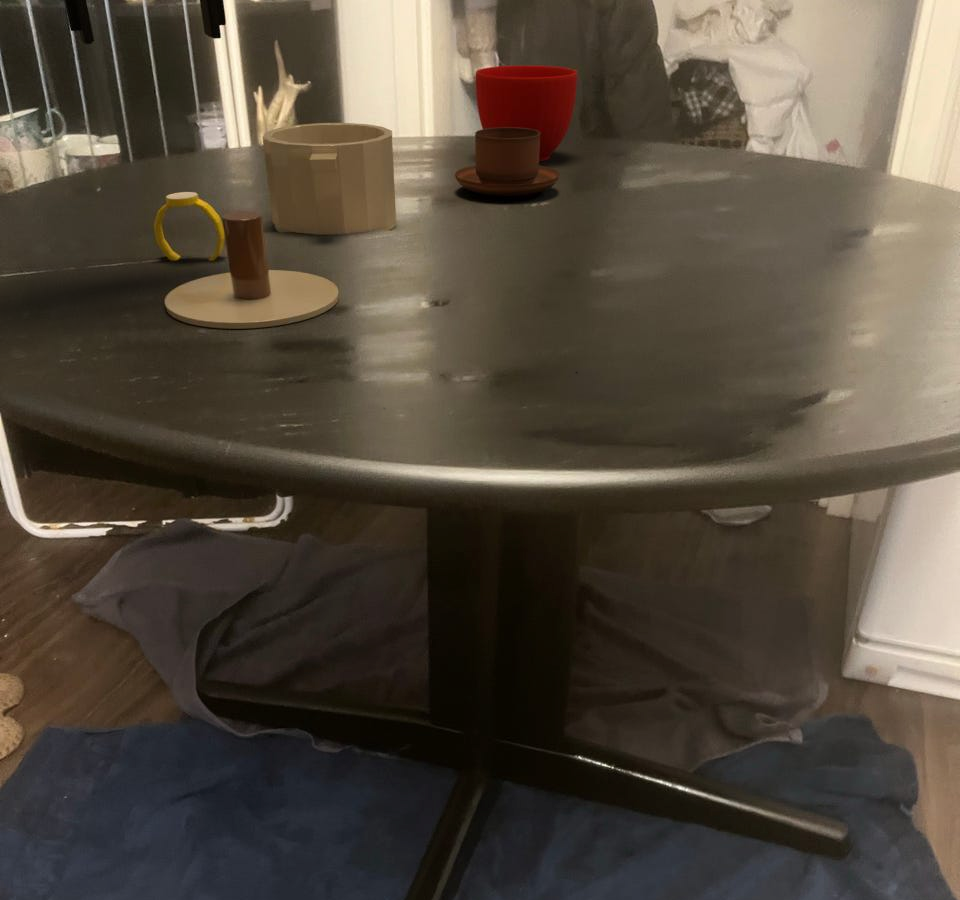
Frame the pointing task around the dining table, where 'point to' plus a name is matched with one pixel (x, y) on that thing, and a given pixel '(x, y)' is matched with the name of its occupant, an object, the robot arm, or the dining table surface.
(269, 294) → the lid
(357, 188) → the pot
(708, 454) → the dining table surface
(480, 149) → the cup and saucer
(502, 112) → the ceramic cup
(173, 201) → the watch
